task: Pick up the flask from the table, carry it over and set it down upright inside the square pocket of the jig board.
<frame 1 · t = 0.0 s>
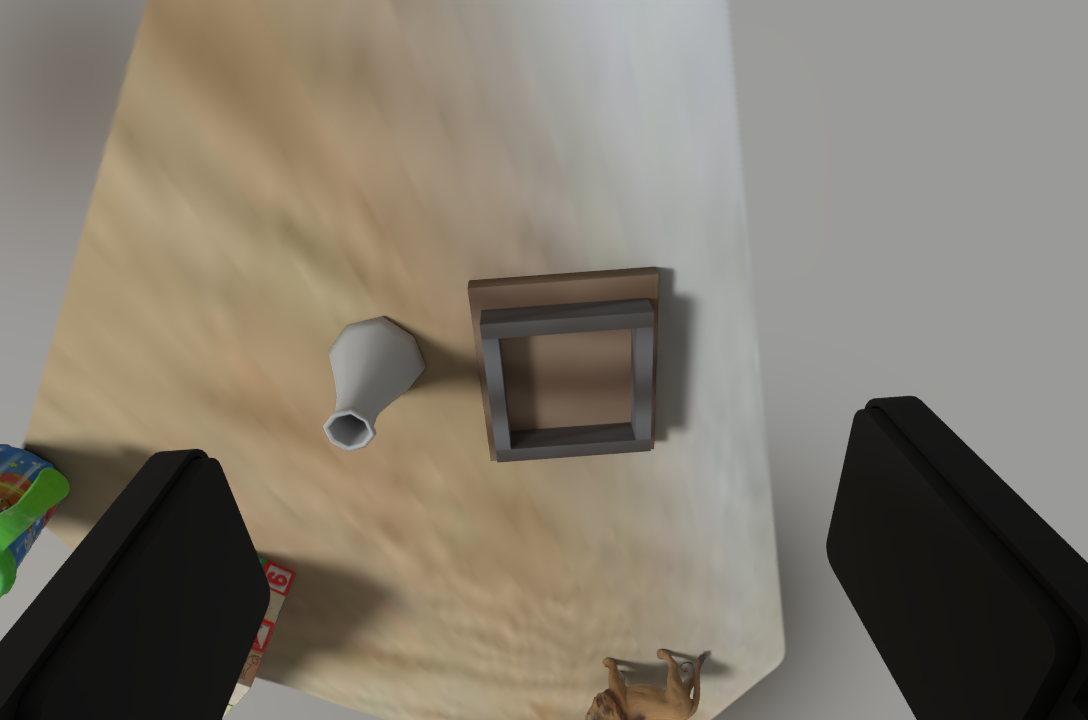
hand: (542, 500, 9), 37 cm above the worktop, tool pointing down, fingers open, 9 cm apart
flask: (379, 356, 50), on the worktop
lion figurine: (636, 664, 71), on the worktop
jig board: (566, 365, 51), on the worktop
stack of blocks: (221, 616, 64), on the worktop
snack cup: (22, 474, 54), on the worktop
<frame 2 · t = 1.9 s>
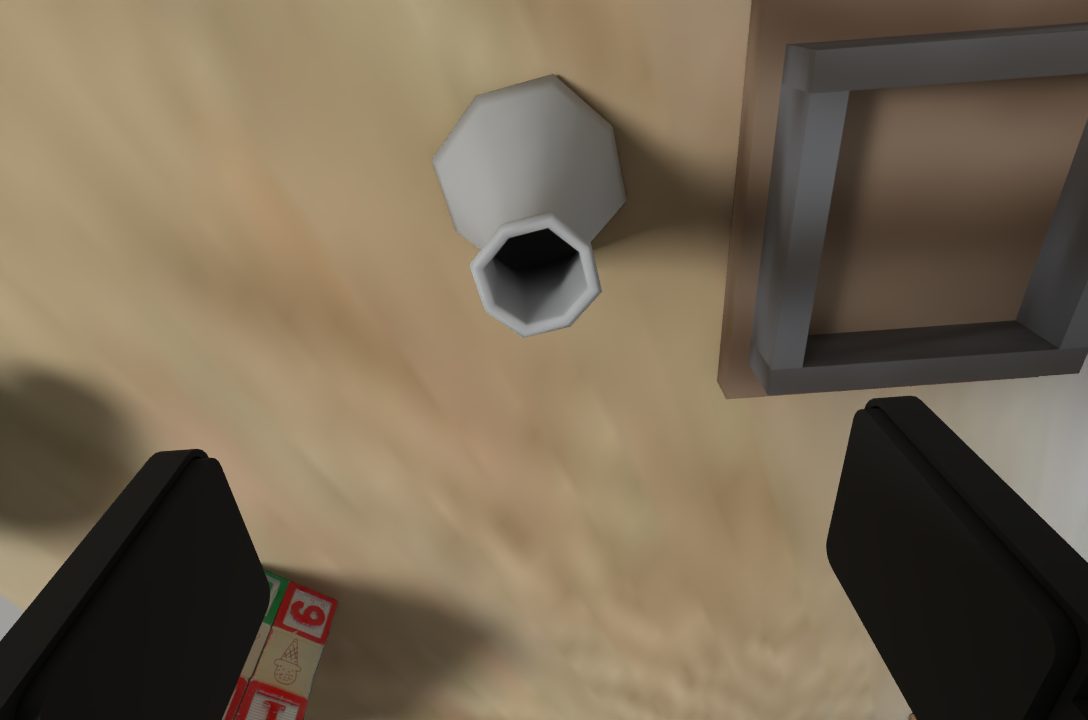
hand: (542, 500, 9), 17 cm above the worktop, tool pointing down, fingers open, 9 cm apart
flask: (531, 177, 24), on the worktop
jig board: (905, 201, 25), on the worktop
stack of blocks: (215, 668, 40), on the worktop
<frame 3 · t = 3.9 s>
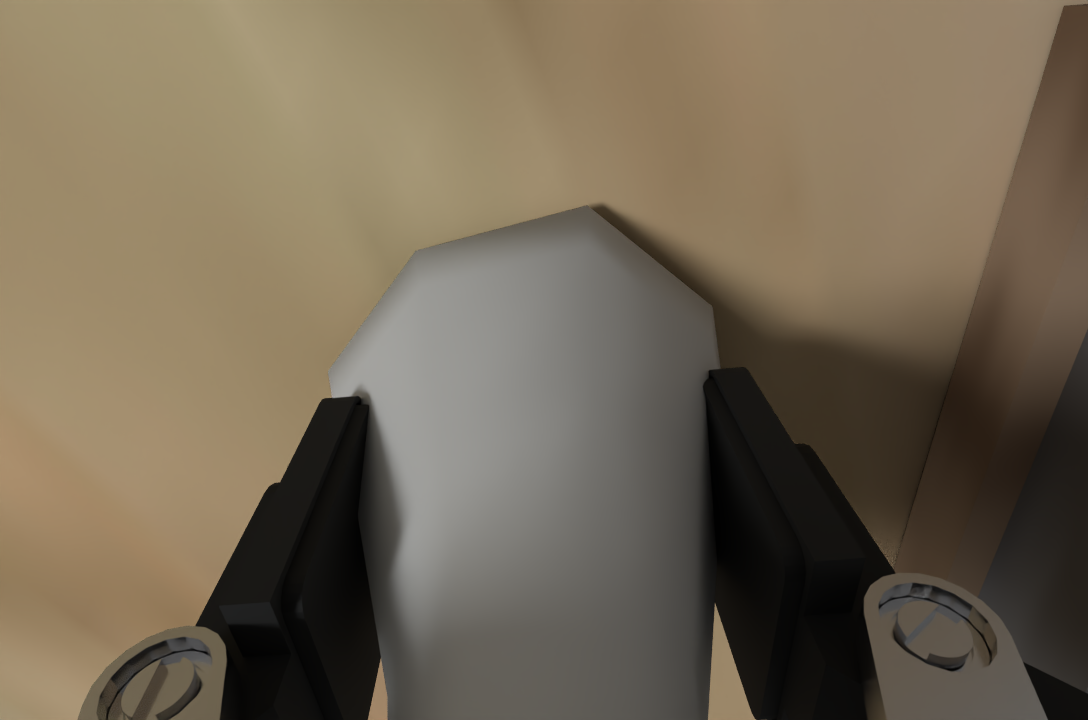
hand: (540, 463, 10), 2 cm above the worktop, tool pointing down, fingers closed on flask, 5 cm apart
flask: (537, 390, 12), on the worktop, touching gripper
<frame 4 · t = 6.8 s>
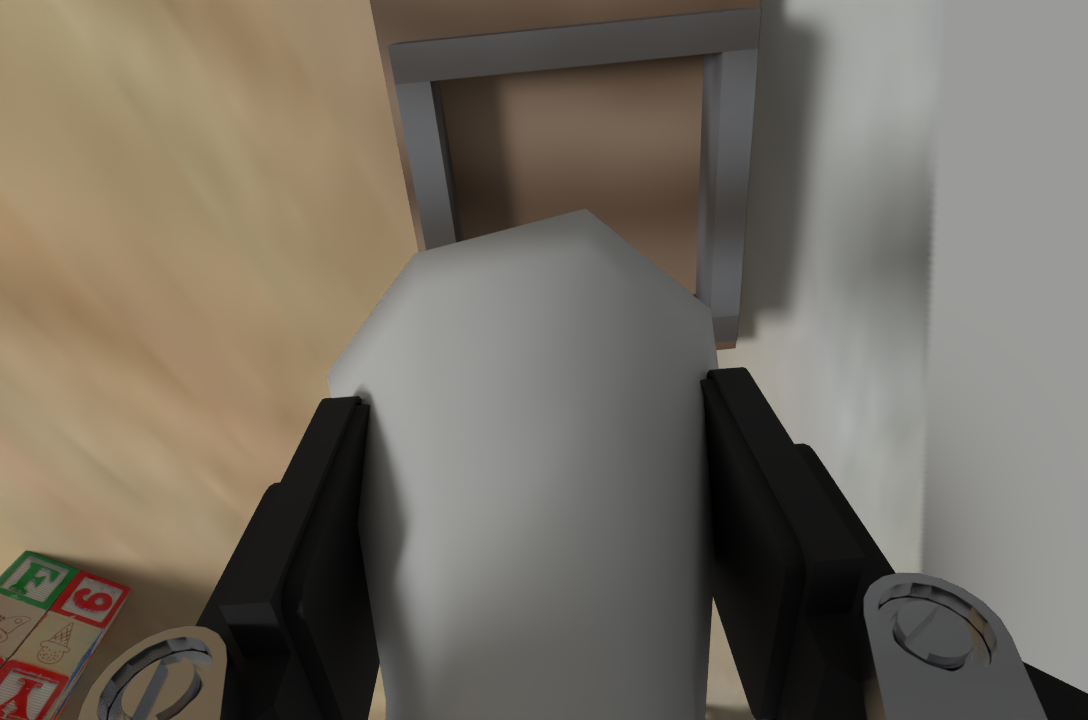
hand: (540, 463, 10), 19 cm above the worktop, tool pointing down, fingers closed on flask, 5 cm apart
flask: (535, 393, 12), point 17 cm above the worktop, touching gripper
jig board: (575, 185, 27), on the worktop
stack of blocks: (35, 660, 42), on the worktop
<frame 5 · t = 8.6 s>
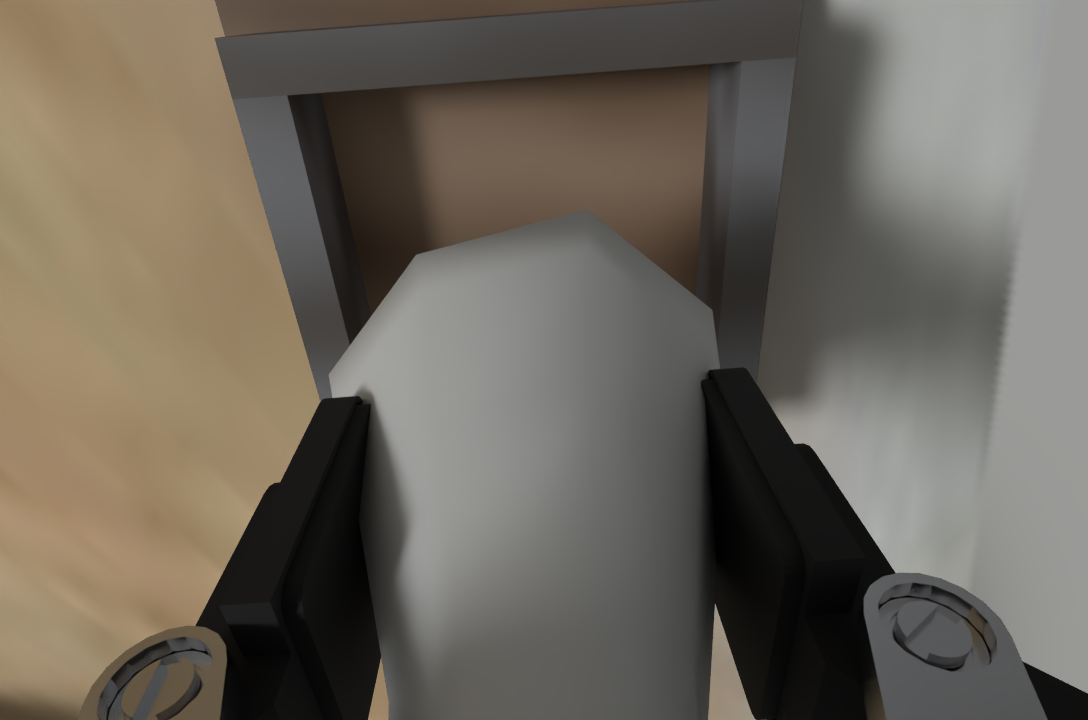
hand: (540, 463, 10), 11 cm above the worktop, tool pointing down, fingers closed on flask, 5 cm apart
flask: (537, 393, 12), point 9 cm above the worktop, touching gripper
jig board: (528, 237, 20), on the worktop
when the fingers open (6 cm above the worktop, at t = 10.0 s): flask drops 2 cm, resting on jig board.
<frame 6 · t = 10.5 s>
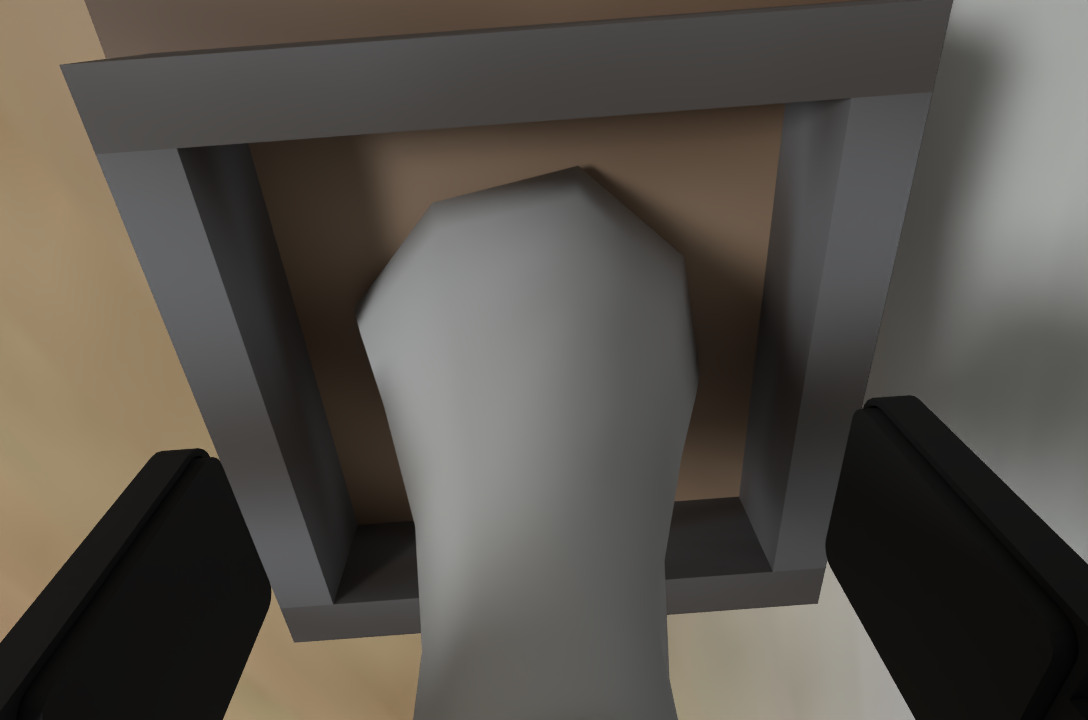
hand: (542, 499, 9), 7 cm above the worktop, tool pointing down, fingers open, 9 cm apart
flask: (533, 332, 14), point 1 cm above the worktop, touching jig board
jig board: (533, 313, 15), on the worktop
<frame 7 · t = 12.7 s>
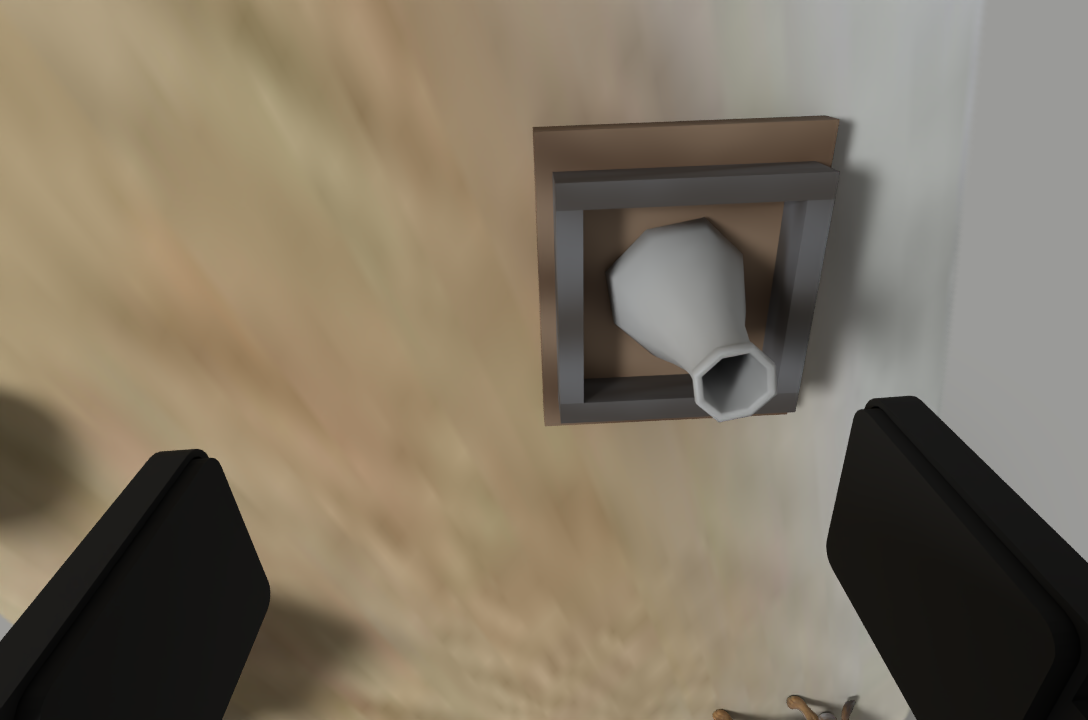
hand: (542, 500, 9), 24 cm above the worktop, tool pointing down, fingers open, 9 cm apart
flask: (674, 286, 32), point 1 cm above the worktop, touching jig board
lion figurine: (757, 716, 53), on the worktop
jig board: (669, 279, 33), on the worktop
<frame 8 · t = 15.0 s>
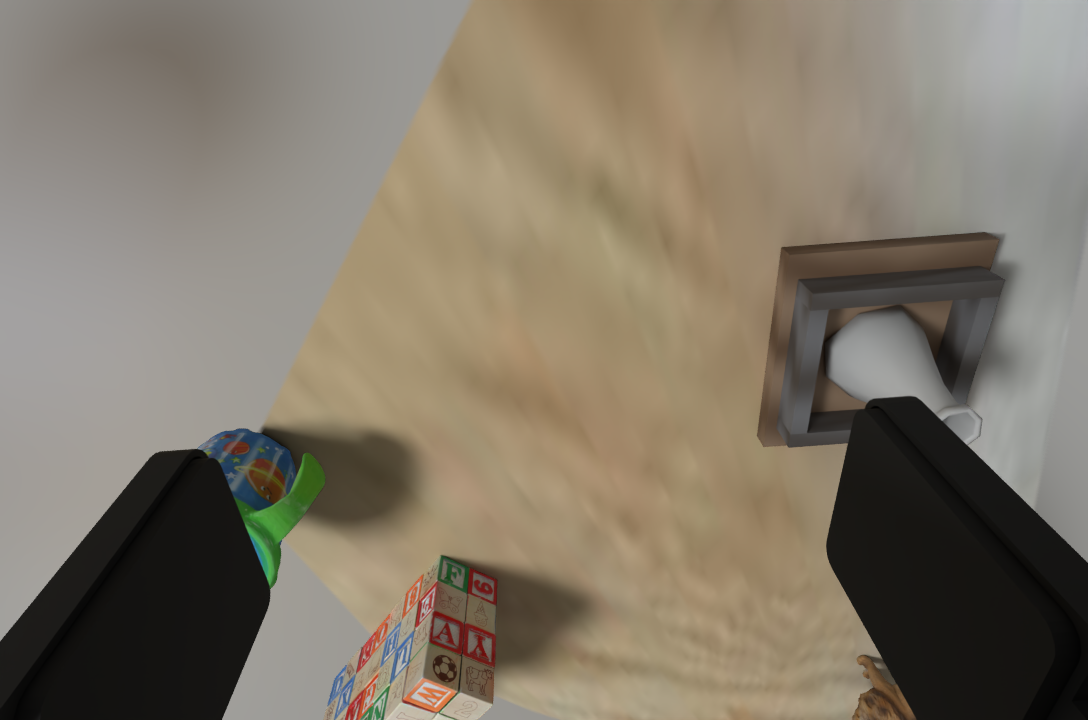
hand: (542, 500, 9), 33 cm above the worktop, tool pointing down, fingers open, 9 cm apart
flask: (870, 349, 46), point 1 cm above the worktop, touching jig board
lion figurine: (890, 660, 67), on the worktop
jig board: (861, 342, 47), on the worktop
stack of blocks: (412, 628, 61), on the worktop
snack cup: (251, 461, 50), on the worktop
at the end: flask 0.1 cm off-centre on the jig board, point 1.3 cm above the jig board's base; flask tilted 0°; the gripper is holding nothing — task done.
